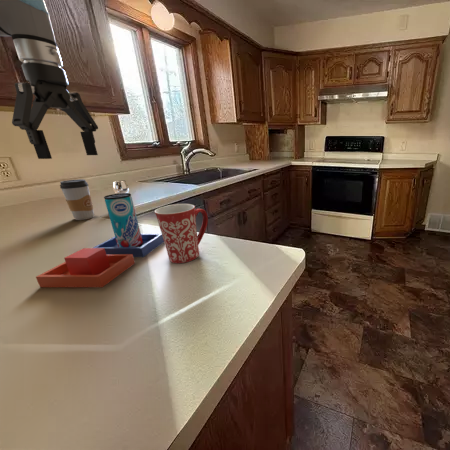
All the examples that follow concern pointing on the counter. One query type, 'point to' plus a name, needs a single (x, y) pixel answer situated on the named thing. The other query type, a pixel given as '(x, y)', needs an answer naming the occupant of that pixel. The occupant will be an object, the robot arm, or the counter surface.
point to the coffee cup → (78, 198)
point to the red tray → (62, 276)
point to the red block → (87, 261)
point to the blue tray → (148, 245)
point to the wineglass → (120, 187)
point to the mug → (181, 231)
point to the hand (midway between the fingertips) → (71, 156)
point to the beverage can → (123, 220)
